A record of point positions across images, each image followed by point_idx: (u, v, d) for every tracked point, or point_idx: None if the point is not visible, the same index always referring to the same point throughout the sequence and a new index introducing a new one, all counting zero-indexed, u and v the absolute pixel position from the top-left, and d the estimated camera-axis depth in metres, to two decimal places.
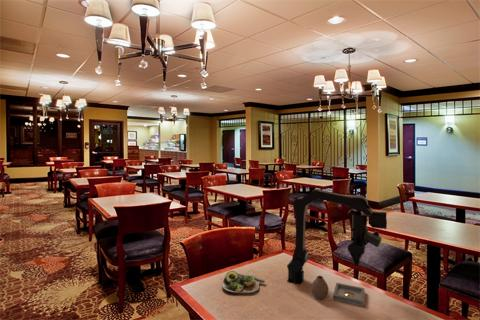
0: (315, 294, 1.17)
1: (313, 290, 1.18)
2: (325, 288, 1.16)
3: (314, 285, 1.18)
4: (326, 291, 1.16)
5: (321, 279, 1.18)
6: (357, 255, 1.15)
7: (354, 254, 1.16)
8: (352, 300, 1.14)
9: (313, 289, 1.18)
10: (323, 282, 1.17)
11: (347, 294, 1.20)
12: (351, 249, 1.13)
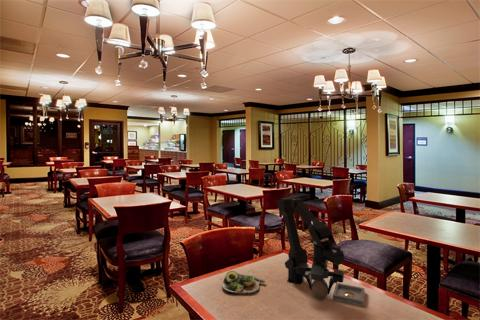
0: (315, 294, 1.17)
1: (313, 290, 1.18)
2: (325, 288, 1.16)
3: (314, 285, 1.18)
4: (326, 291, 1.16)
5: None
6: None
7: None
8: (352, 300, 1.14)
9: (313, 289, 1.18)
10: (323, 282, 1.17)
11: (347, 294, 1.20)
12: None
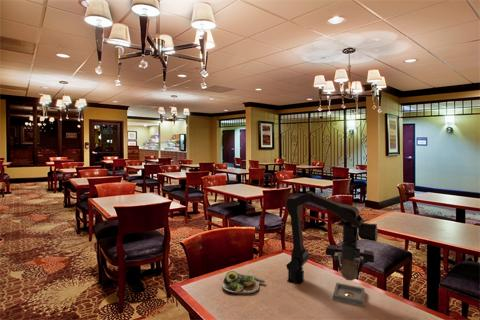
0: (345, 275, 1.17)
1: (343, 271, 1.18)
2: (355, 269, 1.16)
3: (343, 266, 1.18)
4: (356, 272, 1.17)
5: None
6: None
7: None
8: (352, 300, 1.14)
9: (343, 270, 1.18)
10: (353, 263, 1.17)
11: (347, 294, 1.20)
12: None
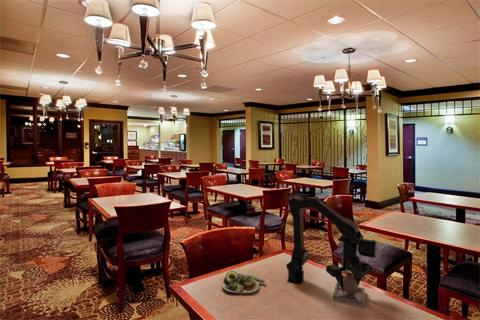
0: (350, 292, 1.17)
1: (348, 289, 1.17)
2: None
3: (348, 283, 1.17)
4: (357, 285, 1.19)
5: (352, 275, 1.19)
6: (339, 279, 1.18)
7: (337, 277, 1.19)
8: (352, 300, 1.14)
9: (348, 287, 1.17)
10: (354, 278, 1.19)
11: None
12: (327, 270, 1.19)
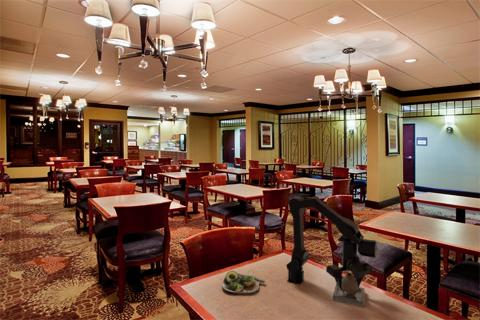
0: (351, 292, 1.17)
1: (348, 289, 1.17)
2: (357, 283, 1.18)
3: (348, 284, 1.17)
4: (357, 286, 1.19)
5: (352, 275, 1.19)
6: (338, 279, 1.18)
7: (336, 277, 1.19)
8: (352, 300, 1.14)
9: (348, 288, 1.17)
10: (354, 278, 1.19)
11: None
12: (327, 270, 1.19)
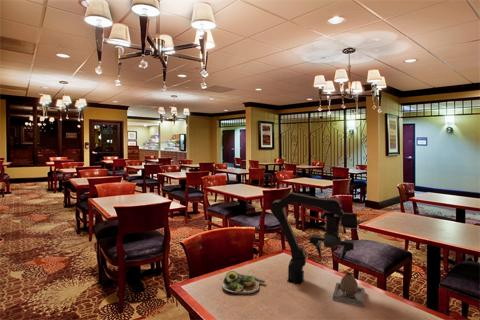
0: (351, 292, 1.17)
1: (348, 289, 1.17)
2: None
3: (348, 283, 1.17)
4: (357, 285, 1.19)
5: (352, 275, 1.19)
6: None
7: None
8: (352, 300, 1.14)
9: (348, 287, 1.17)
10: None
11: None
12: None
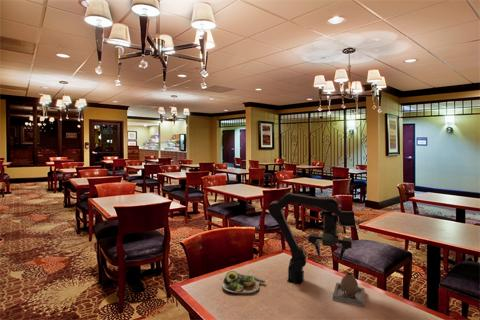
0: (351, 292, 1.17)
1: (348, 289, 1.17)
2: (357, 283, 1.19)
3: (349, 283, 1.17)
4: (357, 285, 1.19)
5: (352, 275, 1.19)
6: None
7: None
8: (352, 300, 1.14)
9: (349, 287, 1.17)
10: (354, 278, 1.19)
11: None
12: None
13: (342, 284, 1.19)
